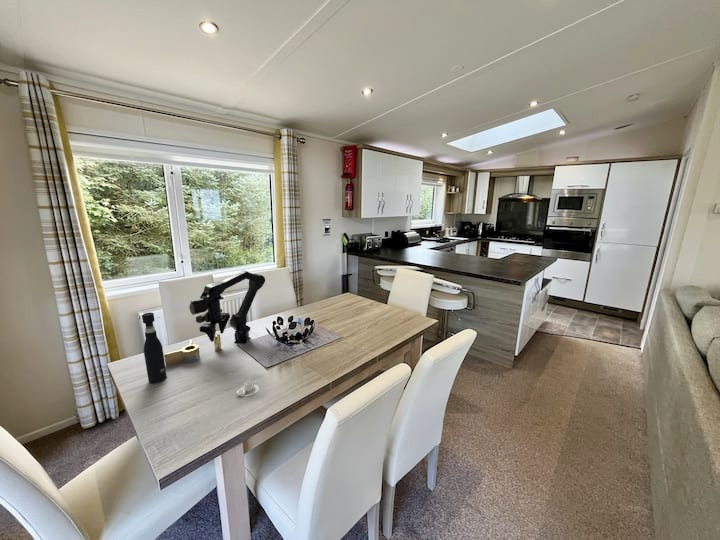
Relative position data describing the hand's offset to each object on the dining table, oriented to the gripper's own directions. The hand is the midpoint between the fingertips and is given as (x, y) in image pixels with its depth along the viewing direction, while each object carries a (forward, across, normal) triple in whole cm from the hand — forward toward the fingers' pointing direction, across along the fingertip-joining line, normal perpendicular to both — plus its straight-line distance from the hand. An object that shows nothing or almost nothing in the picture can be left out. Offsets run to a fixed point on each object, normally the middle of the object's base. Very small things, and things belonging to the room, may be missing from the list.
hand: (217, 337), depth 148 cm
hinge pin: (+7, 0, 0) cm, 7 cm away
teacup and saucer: (+8, +31, +27) cm, 42 cm away
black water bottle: (+7, +27, -12) cm, 30 cm away
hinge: (+7, +9, -11) cm, 15 cm away
